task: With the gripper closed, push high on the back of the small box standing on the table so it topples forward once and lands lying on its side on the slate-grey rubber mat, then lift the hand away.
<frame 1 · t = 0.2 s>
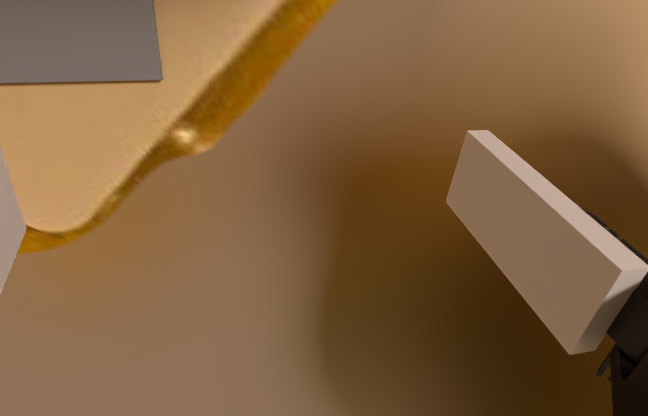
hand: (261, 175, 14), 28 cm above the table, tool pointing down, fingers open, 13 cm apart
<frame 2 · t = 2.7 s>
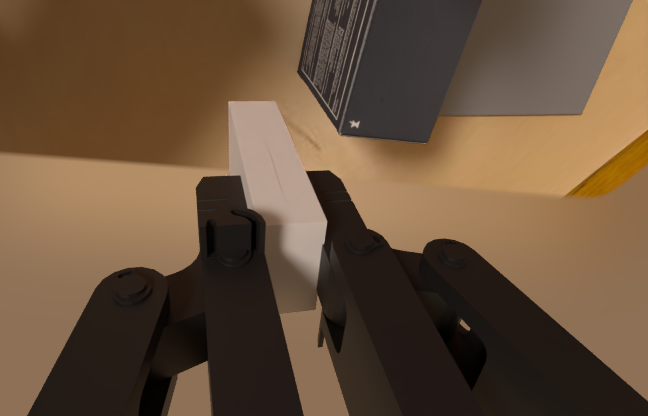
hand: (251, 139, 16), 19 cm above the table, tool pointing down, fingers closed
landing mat: (522, 18, 37), on the table
small box: (353, 8, 33), on the table
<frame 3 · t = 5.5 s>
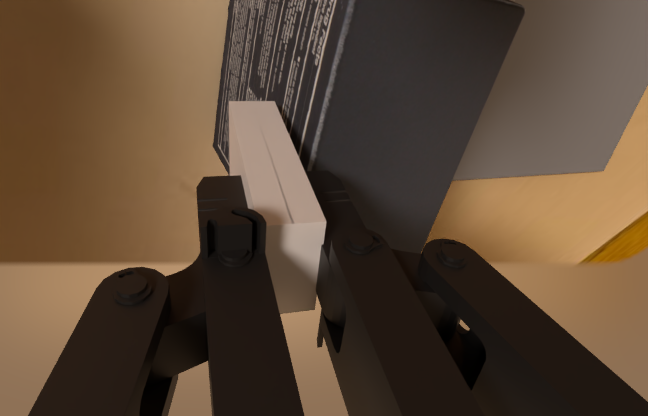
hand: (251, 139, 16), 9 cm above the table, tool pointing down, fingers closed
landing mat: (526, 55, 27), on the table
small box: (286, 52, 23), on the table, touching gripper
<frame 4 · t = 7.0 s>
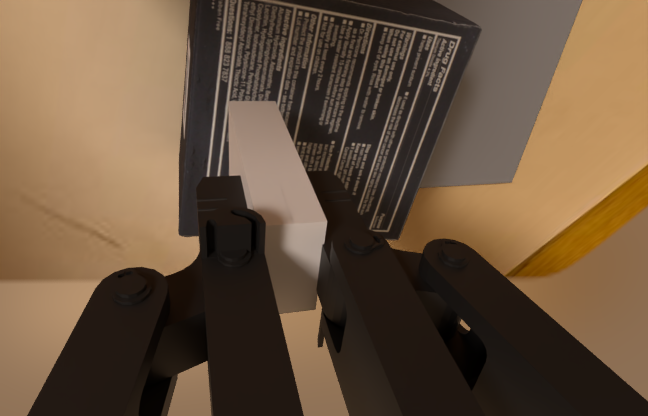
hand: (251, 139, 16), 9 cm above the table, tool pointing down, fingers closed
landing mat: (403, 58, 25), on the table
small box: (179, 90, 19), point 3 cm above the table, touching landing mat
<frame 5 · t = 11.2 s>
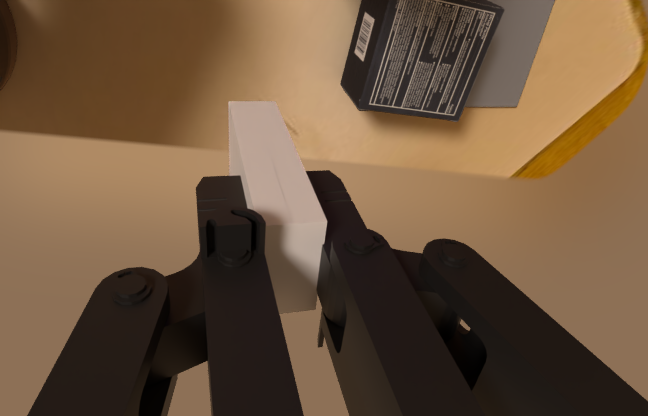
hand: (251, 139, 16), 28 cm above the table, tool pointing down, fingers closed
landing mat: (459, 28, 46), on the table
small box: (360, 39, 40), point 3 cm above the table, touching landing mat
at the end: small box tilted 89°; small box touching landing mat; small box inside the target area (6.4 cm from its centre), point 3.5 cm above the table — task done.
